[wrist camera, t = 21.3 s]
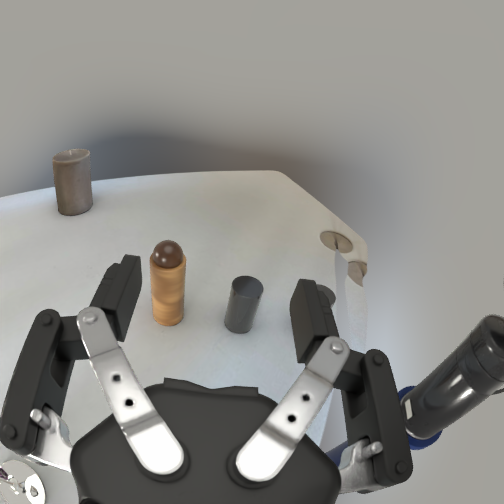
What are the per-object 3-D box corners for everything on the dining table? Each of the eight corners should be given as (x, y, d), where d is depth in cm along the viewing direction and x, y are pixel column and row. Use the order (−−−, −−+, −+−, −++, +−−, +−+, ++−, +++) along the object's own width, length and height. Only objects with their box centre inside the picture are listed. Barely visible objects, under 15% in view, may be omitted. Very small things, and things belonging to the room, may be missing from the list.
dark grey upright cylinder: (314, 319, 47) (332, 285, 43) (319, 339, 44) (338, 306, 39) (290, 317, 47) (305, 282, 42) (294, 338, 43) (310, 304, 39)
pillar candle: (55, 217, 55) (47, 158, 46) (61, 199, 62) (56, 145, 53) (91, 213, 59) (87, 154, 50) (94, 195, 66) (92, 141, 57)
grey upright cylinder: (252, 313, 46) (262, 277, 41) (252, 335, 42) (264, 299, 38) (225, 310, 45) (232, 273, 41) (224, 332, 42) (231, 295, 37)
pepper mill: (185, 304, 44) (189, 235, 37) (181, 328, 41) (183, 257, 33) (156, 300, 44) (154, 230, 36) (150, 323, 40) (144, 252, 32)
